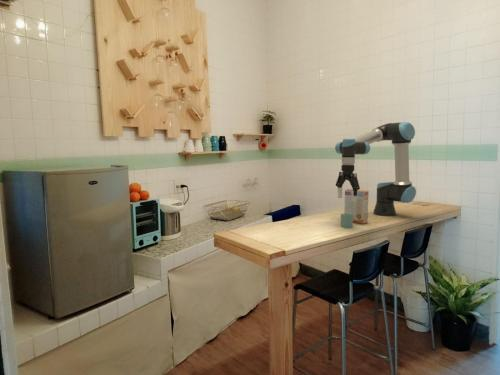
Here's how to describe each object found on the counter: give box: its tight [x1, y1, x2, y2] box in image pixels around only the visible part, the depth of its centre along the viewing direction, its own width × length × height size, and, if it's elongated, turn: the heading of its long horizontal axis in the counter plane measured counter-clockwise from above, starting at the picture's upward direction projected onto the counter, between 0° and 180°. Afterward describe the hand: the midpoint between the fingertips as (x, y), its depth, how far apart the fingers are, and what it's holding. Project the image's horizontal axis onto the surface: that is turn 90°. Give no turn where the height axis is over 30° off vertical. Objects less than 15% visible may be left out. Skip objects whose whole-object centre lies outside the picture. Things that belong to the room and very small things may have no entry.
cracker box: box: [343, 188, 370, 225], centre depth 217 cm, size 14×6×21 cm, turn 41°
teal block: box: [340, 213, 354, 229], centre depth 204 cm, size 5×5×8 cm
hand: (346, 199), depth 203 cm, fingers open, 13 cm apart
